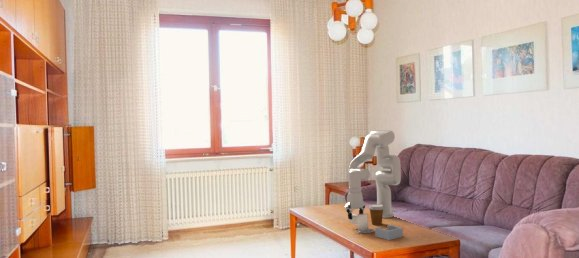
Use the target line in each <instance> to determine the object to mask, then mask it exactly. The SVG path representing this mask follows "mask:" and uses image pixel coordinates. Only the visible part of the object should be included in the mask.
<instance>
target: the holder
mask: <svg viewBox="0 0 579 258" xmlns="http://www.w3.org/2000/svg"><path fill="white" fill-rule="evenodd" d="M386 227H387V229H385V228H380V227H375V228H374V232H375V237H377V238H380V239H384V240H387V241H391V240H394V239H398V238H402V237H404V236H403V234H404V233H403V227H400V226H397V225H392V224H387V226H386Z"/></svg>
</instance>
